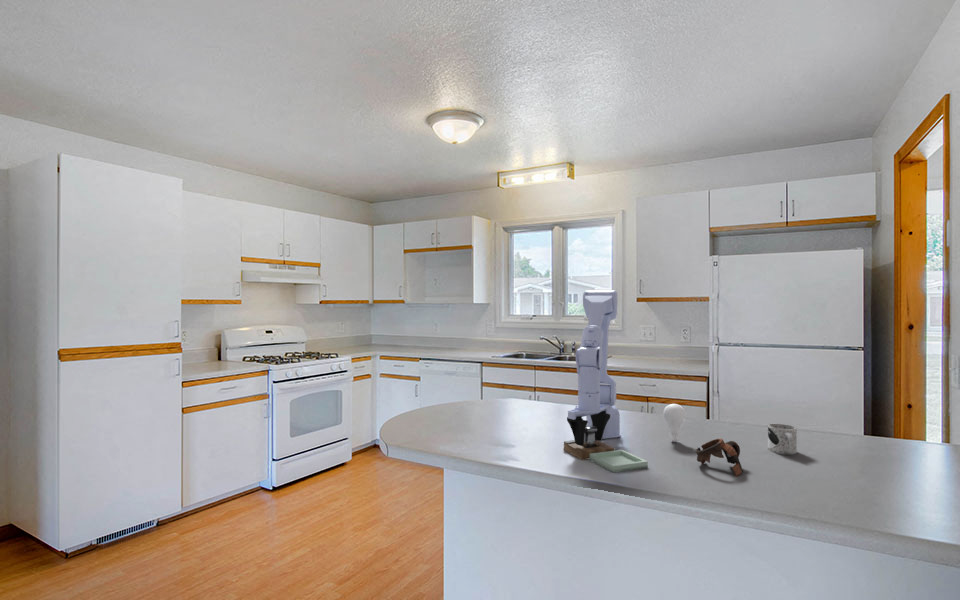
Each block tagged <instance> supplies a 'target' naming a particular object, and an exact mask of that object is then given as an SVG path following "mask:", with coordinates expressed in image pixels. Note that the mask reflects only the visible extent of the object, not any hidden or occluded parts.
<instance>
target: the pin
mask: <svg viewBox="0 0 960 600" xmlns="http://www.w3.org/2000/svg"><path fill="white" fill-rule="evenodd" d="M595 432H597V427H596V426H591V425H586V428H585V434H584V444H583V447H585V448H593V447H595Z"/></svg>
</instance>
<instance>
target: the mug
mask: <svg viewBox="0 0 960 600" xmlns="http://www.w3.org/2000/svg"><path fill="white" fill-rule="evenodd" d="M797 429H798V428H797V427H796V426H794V425H790V424H785V423H769V424H768V425H767V450H768V451H770V452H772V453H775V454H780V455H786V456H787V455H788V456H789V455H793V456H794V455H796V454H797V448H798V447H797V443H798V442H797V438H798V437H797V436H798V435H797V431H798V430H797Z"/></svg>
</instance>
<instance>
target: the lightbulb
mask: <svg viewBox="0 0 960 600" xmlns="http://www.w3.org/2000/svg"><path fill="white" fill-rule="evenodd" d="M686 417H687V412H686V409H684V406H683V407H682V406H681V405H680V404H677V403H670V404H668V405H666V406H665V407H664V409H663V419H664V421H665V422H666V424H667V428H668V433H669V440H670V441H672V442H673V443H676V442H678V441H680V434H681V430H682V427H683V426H682V425H684V422H685V420H686V419H687V418H686Z"/></svg>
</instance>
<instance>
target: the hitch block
mask: <svg viewBox="0 0 960 600" xmlns="http://www.w3.org/2000/svg"><path fill="white" fill-rule="evenodd" d="M615 448H616V447H613V446H611V445H609V444H607V443H605V442H602V440H601V441H599V440H595V447H593V448H585V447H583V446H580V445H577V444H576V443H575V439H573V440H572V439H571V440H564V441H563V450H564V451H565V452H567V453H569V454H571V455H573V456H574V457H577V458H578V459H580V460H581V461H583V460H590V454H591V453H599V452H607V451H615Z"/></svg>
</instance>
